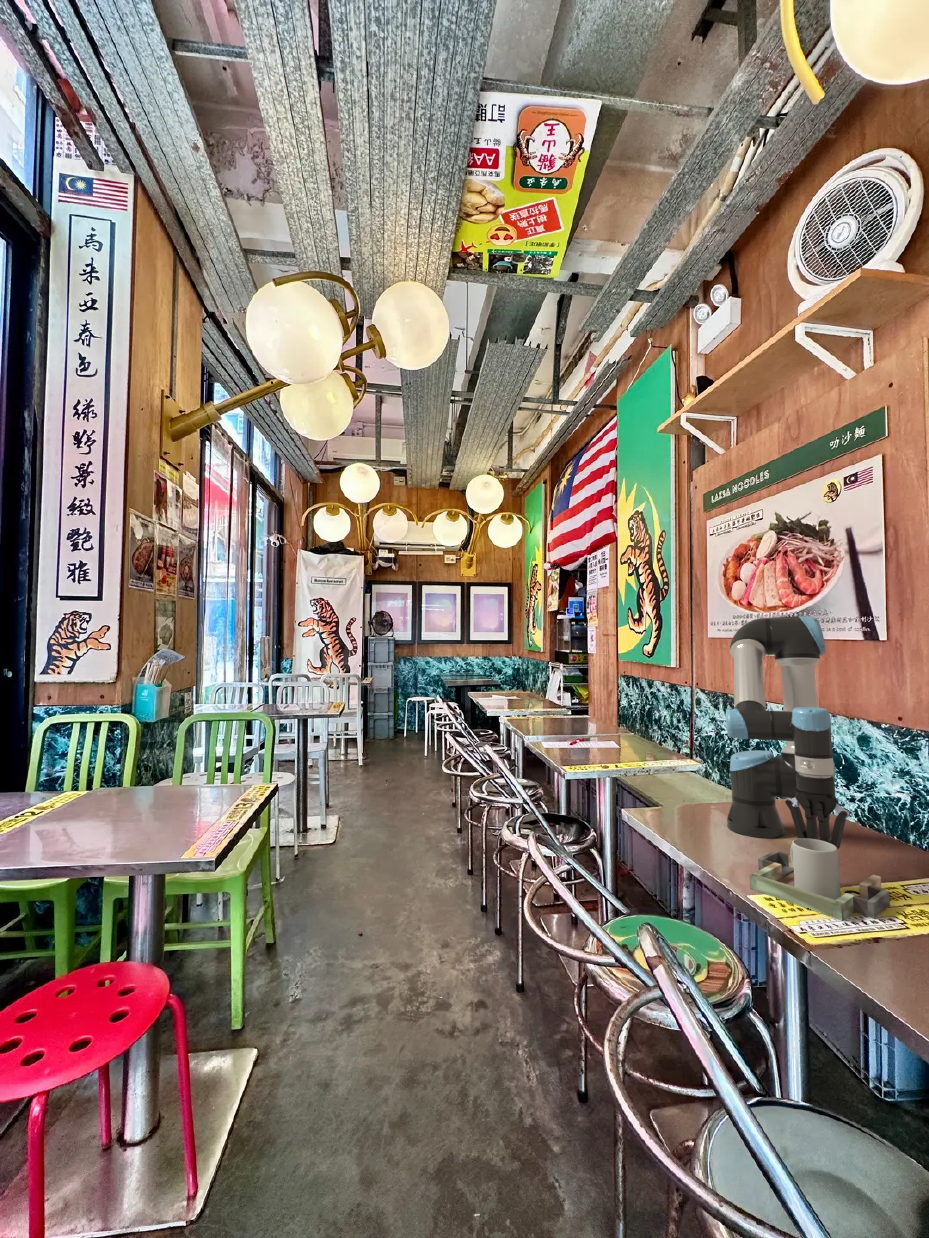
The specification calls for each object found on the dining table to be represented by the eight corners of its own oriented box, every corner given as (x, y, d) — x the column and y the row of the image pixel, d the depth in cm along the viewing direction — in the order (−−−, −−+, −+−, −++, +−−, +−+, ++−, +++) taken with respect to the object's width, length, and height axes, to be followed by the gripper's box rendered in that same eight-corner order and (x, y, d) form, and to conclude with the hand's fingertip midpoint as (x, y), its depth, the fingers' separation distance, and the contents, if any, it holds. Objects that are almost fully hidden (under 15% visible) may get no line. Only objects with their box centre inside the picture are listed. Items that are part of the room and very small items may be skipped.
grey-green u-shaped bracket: (779, 860, 134) (779, 848, 135) (901, 896, 114) (900, 882, 114) (735, 883, 122) (734, 870, 122) (862, 927, 101) (861, 911, 102)
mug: (851, 903, 111) (847, 850, 112) (812, 905, 111) (809, 852, 112) (811, 879, 123) (808, 832, 124) (776, 881, 123) (773, 833, 123)
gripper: (777, 771, 125) (783, 872, 123) (840, 782, 114) (847, 893, 112) (791, 767, 129) (797, 865, 127) (853, 776, 118) (861, 883, 117)
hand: (821, 878), depth 120 cm, fingers closed
